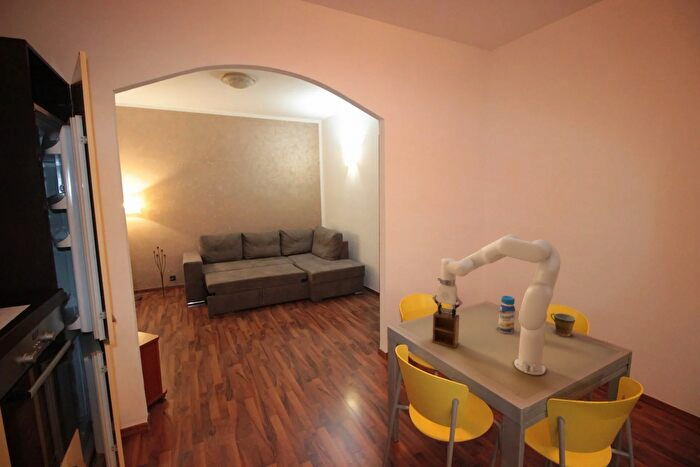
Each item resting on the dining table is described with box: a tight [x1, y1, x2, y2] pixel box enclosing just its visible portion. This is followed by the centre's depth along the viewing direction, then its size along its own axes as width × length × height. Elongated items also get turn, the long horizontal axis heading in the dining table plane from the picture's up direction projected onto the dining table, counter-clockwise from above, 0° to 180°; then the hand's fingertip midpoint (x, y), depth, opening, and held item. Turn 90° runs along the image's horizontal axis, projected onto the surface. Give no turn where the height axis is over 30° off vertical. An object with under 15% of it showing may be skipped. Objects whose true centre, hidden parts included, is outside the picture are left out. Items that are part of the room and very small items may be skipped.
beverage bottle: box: [497, 295, 516, 334], centre depth 183 cm, size 8×8×20 cm
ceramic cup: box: [550, 312, 576, 337], centre depth 181 cm, size 13×10×10 cm
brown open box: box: [432, 307, 460, 349], centre depth 170 cm, size 6×12×19 cm, turn 56°
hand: (446, 313), depth 170 cm, fingers open, 6 cm apart
